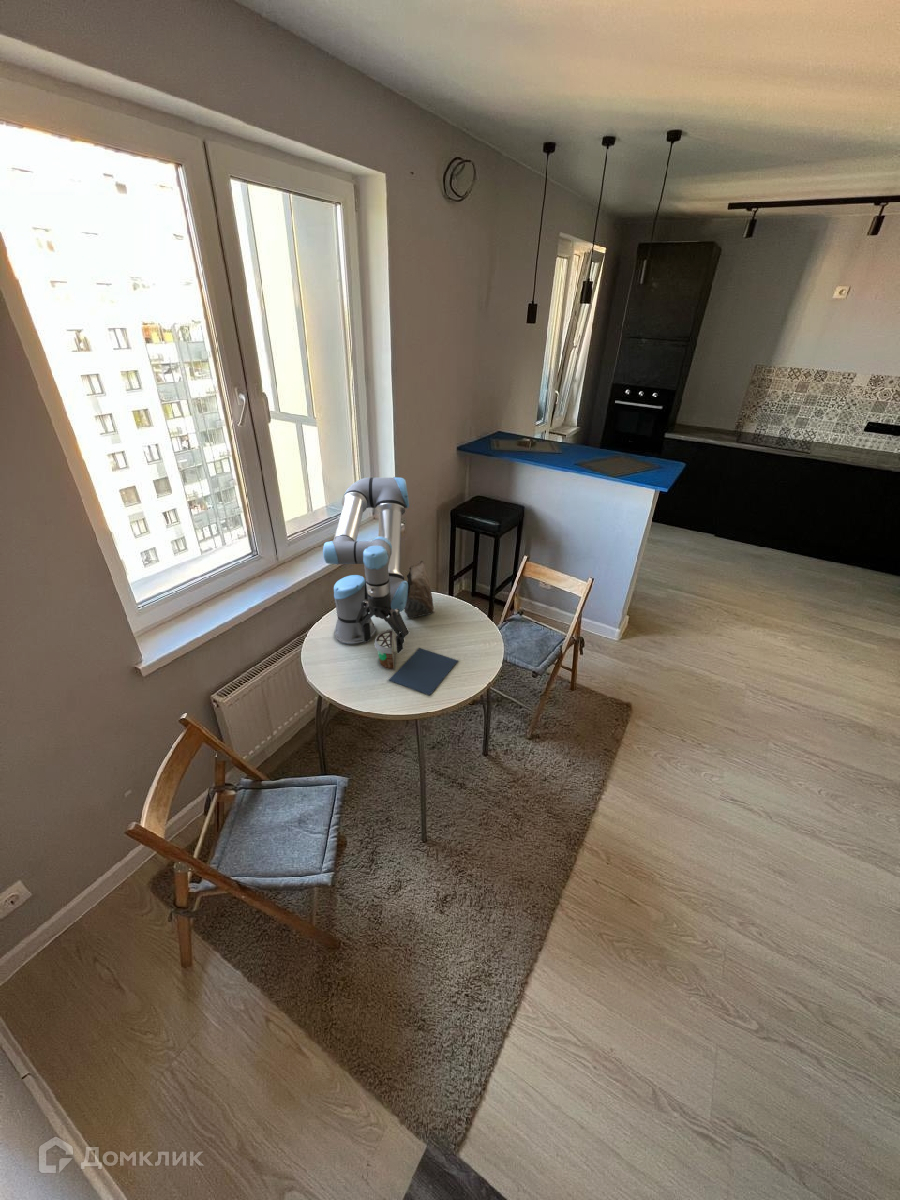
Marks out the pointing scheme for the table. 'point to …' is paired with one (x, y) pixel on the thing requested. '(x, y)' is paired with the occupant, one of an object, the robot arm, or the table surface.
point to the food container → (385, 648)
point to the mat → (424, 671)
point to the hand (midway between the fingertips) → (383, 645)
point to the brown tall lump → (418, 592)
